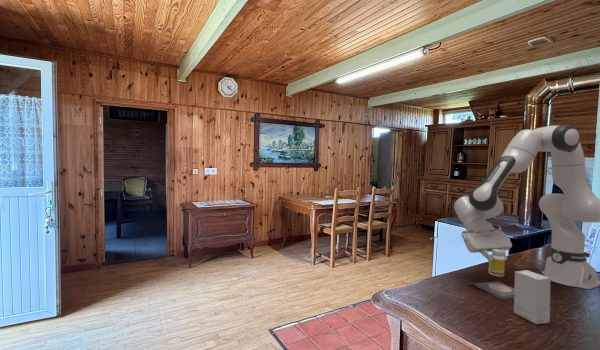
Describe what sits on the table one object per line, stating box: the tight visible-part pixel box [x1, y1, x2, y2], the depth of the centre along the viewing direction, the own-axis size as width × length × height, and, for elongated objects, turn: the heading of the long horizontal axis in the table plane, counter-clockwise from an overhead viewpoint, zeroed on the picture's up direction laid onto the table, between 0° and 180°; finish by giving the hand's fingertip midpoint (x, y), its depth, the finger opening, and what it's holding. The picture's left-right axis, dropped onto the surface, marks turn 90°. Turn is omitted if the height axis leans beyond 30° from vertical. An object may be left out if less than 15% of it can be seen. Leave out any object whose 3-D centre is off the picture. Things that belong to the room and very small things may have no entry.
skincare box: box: [513, 269, 551, 325], centre depth 101 cm, size 8×6×15 cm
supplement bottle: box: [488, 249, 506, 277], centre depth 121 cm, size 5×5×10 cm
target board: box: [475, 280, 515, 300], centre depth 122 cm, size 12×12×1 cm
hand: (498, 260), depth 120 cm, fingers closed on supplement bottle, 5 cm apart
